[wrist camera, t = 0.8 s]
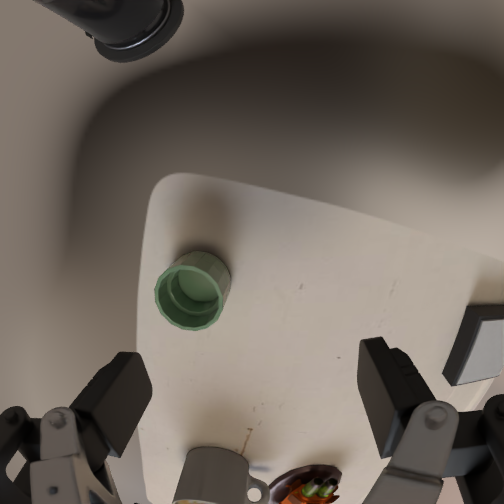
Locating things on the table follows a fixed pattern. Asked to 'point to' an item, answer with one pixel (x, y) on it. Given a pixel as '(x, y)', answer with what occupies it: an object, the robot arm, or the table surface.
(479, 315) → the scale
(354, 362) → the table surface
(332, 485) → the toy spacecraft
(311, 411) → the table surface
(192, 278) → the green cup
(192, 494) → the coffee mug
